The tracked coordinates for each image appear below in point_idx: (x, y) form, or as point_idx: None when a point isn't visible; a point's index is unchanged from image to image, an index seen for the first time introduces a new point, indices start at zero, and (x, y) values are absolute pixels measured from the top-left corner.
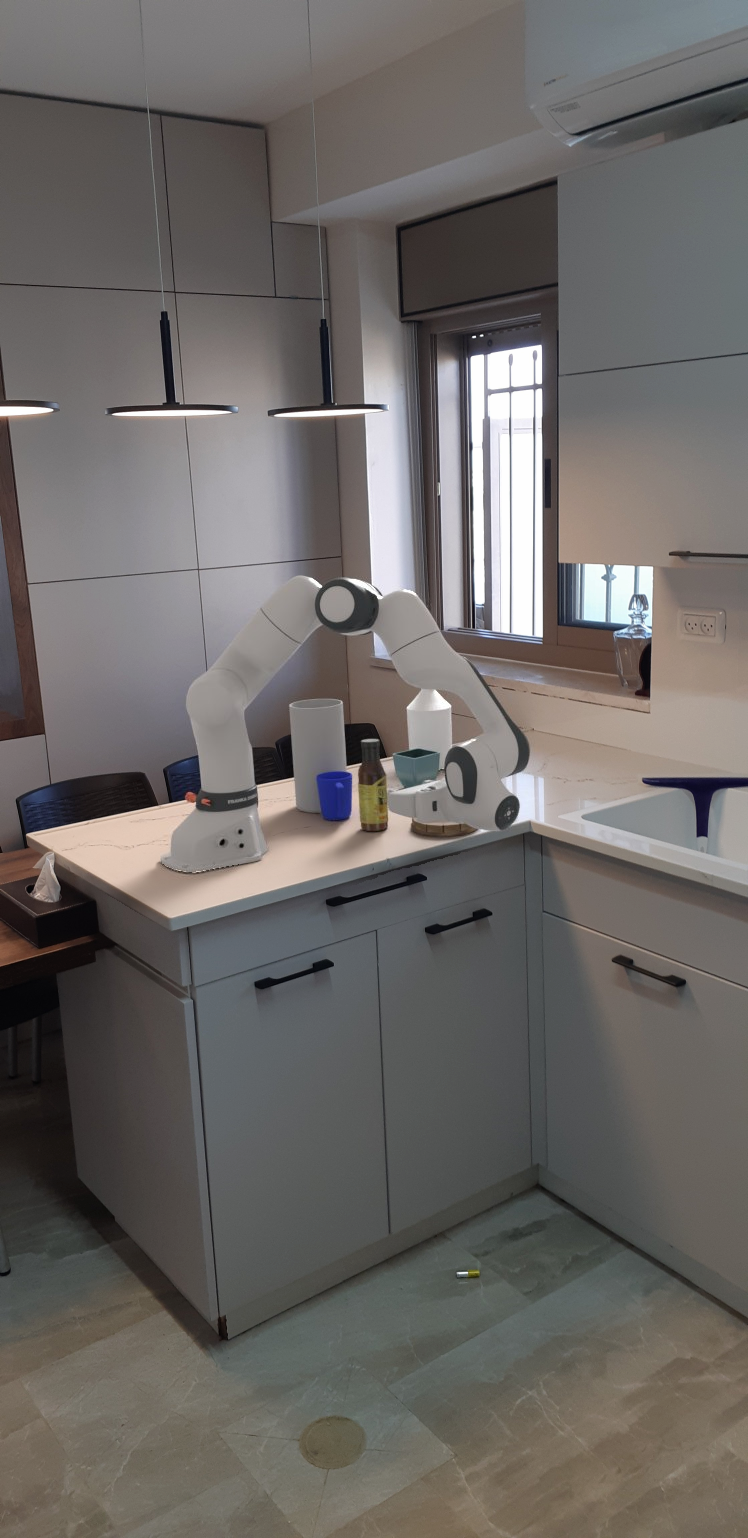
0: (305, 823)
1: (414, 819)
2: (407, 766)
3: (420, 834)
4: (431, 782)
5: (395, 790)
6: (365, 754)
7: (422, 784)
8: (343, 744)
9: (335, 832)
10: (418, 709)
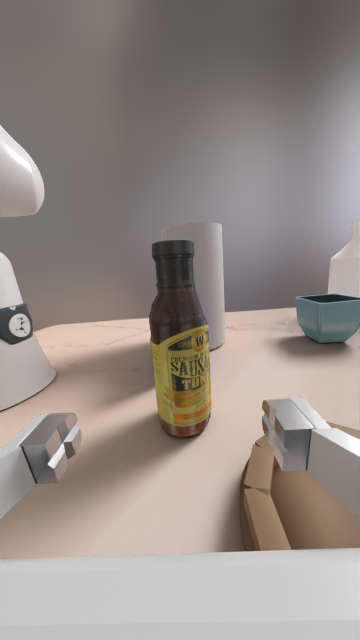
0: (146, 362)
1: (251, 465)
2: (310, 312)
3: None
4: (267, 635)
5: (10, 450)
6: (156, 274)
7: (104, 590)
8: (213, 276)
9: (133, 398)
10: (344, 256)
